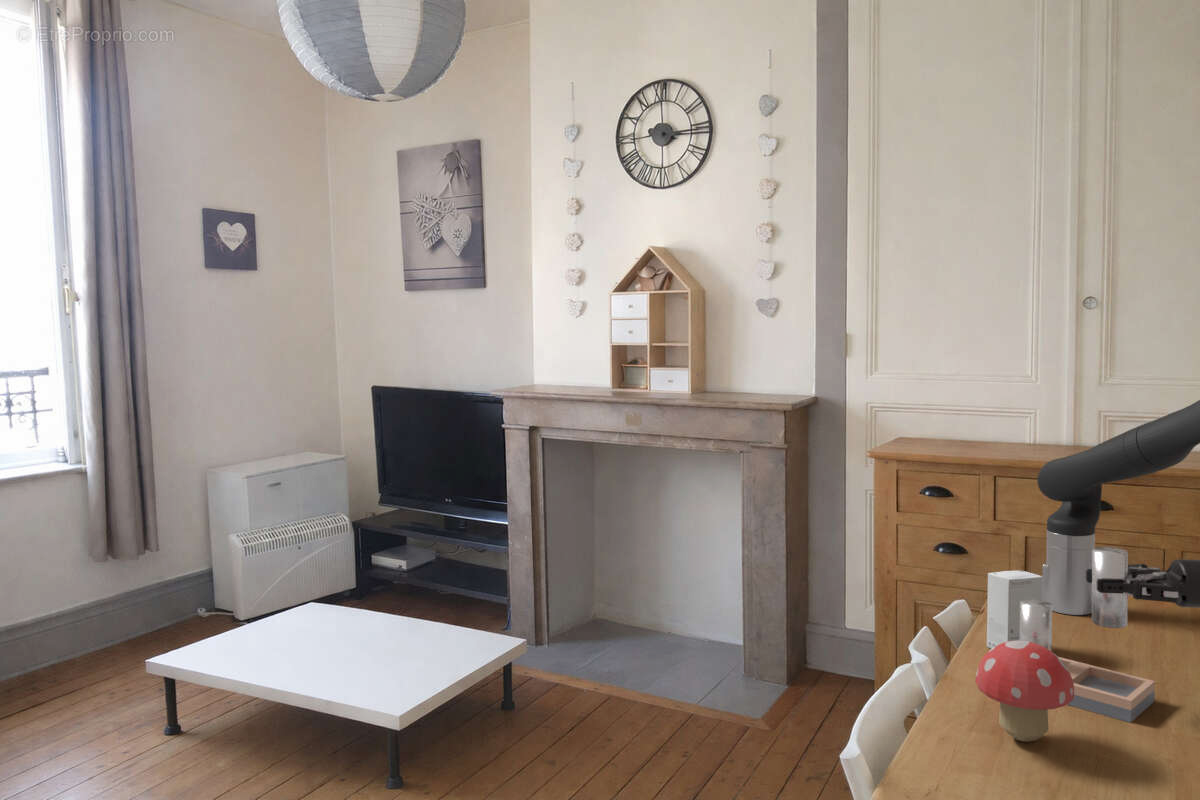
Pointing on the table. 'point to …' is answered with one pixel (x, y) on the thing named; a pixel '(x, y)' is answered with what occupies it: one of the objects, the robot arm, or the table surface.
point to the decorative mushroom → (1024, 686)
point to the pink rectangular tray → (1109, 691)
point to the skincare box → (1009, 603)
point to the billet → (1109, 605)
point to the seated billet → (1036, 622)
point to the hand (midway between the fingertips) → (1092, 580)
